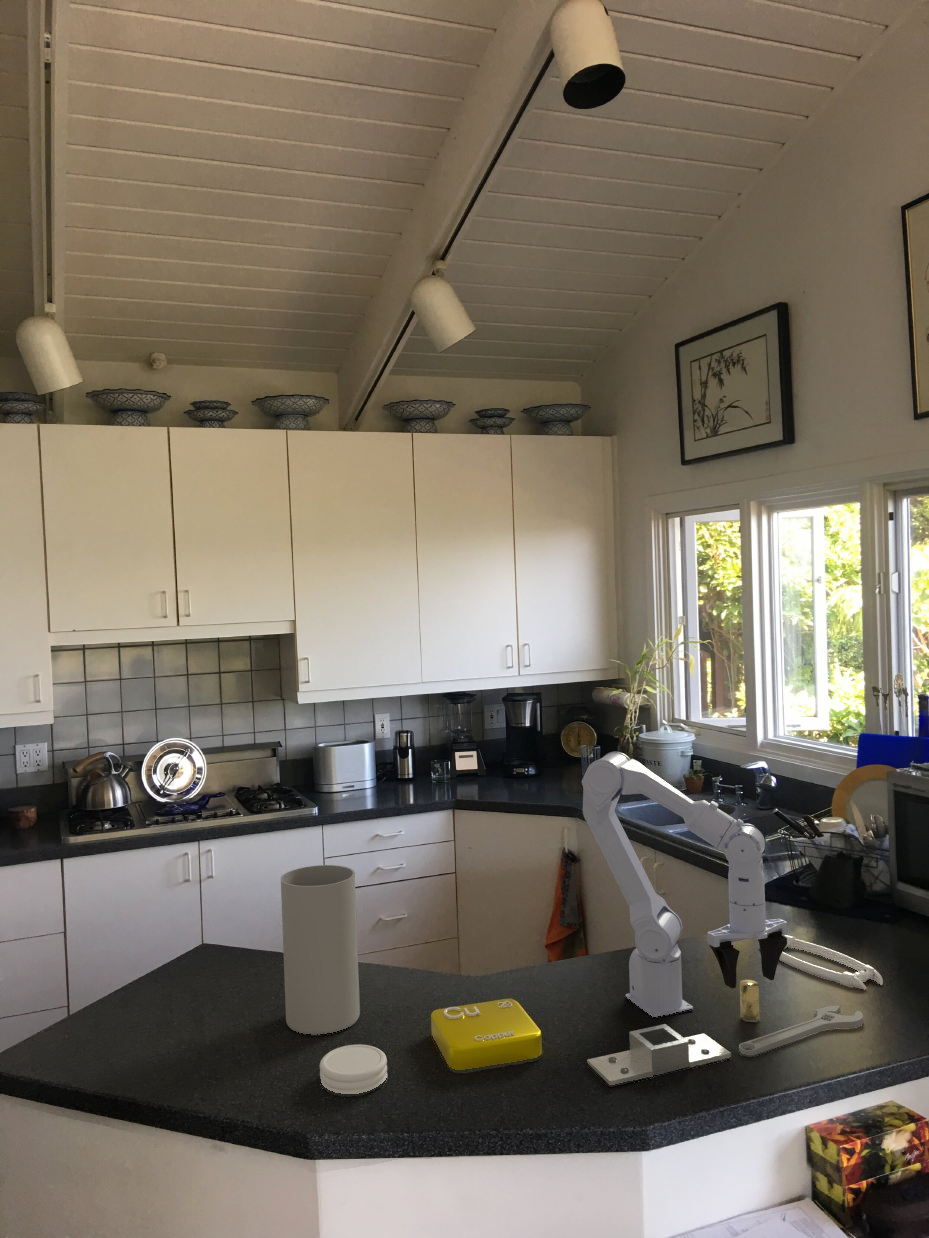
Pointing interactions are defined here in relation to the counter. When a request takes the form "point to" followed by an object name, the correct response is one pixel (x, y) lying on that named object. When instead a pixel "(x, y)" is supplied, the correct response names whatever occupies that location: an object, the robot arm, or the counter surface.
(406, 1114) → the counter surface
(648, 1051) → the mounting bracket
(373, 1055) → the white end cap
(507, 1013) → the element tile
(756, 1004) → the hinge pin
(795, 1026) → the adjustable wrench
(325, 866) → the cylinder vase
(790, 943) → the white tongs
